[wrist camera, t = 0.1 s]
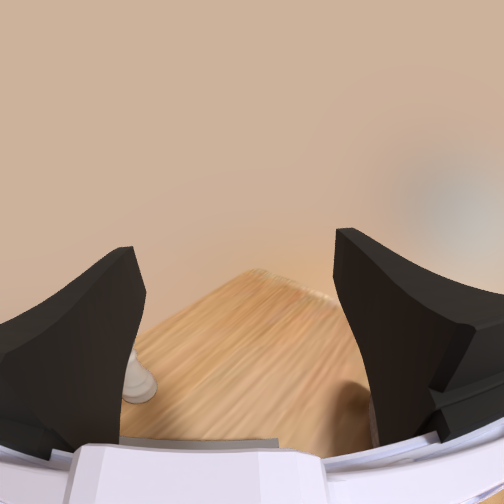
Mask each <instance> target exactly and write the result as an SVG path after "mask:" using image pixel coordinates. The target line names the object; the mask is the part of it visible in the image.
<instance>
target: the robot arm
mask: <svg viewBox="0 0 504 504" xmlns="http://www.w3.org/2000/svg"><path fill="white" fill-rule="evenodd" d="M333 279H334V284H335V287H336V291H337V295H338V298H339V301H340V303H341V306H342V308H343V311H344V313H345V315H346V318H347V320H348V323H349V325H350V327H351V330H352V332H353V334H354V337H355V339H356V342H357V344H358V347H359V349H360V352H361V355H362V358H363V362H364V366H365V370H366V374H367V377H368V382H369V386H370V391H371V395H372V400H373V405H374V410H375V416H376V422H377V428H378V436H379V444H380V447H378V448H374V449H369V450H365V451H360V452H356V453H351V454H346V455H340V456H335V457H329V458H323V459H320V457H318V456H316V455H314V454H312V453H307V452H303V451H299V450H295V449H291V448H251V449H230V450H181V449H160V448H146V447H134V446H125V445H119V431H120V413H121V403H122V394H123V387H124V380H125V373H126V369H127V365H128V361H129V358H130V354H131V351H132V348H133V344H134V341H135V338H136V335H137V332H138V328H139V325H140V322H141V318H142V315H143V310H144V304H145V297H146V289H145V286H144V283H143V279H142V276H141V273H140V270H139V266H138V263H137V259H136V256H135V253H134V249H133V246H130V247H120V248H117V249H115V250H113V251H111V252H110V253H108V254H107V255H106V256H104V257H103V258H102V259H100V260H99V261H98V262H97V263H95V264H94V265H93V266H91V267H90V268H89V269H88V270H86V271H85V272H84V273H82V274H81V275H80V276H79V277H77V278H76V279H75V280H73V281H72V282H70V283H69V284H68V285H67V286H65V287H64V288H63V289H61V290H60V291H58V292H57V293H56V294H54V295H53V296H51V297H50V298H48V299H46V300H45V301H43V302H42V303H40V304H38V305H37V306H35V307H33V308H31V309H30V310H28V311H26V312H24V313H22V314H20V315H19V316H17V317H15V318H13V319H11V320H9V321H6V322H4V323H2V324H0V504H478V503H480V502H482V501H483V500H485V499H487V498H489V497H491V496H492V495H494V494H496V493H497V492H499V491H501V490H503V489H504V295H503V294H498V293H493V292H489V291H485V290H481V289H477V288H474V287H471V286H467V285H464V284H461V283H458V282H455V281H453V280H450V279H447V278H445V277H442V276H440V275H438V274H435V273H433V272H431V271H429V270H427V269H424V268H422V267H420V266H418V265H416V264H414V263H412V262H411V261H408V260H407V259H405V258H403V257H402V256H400V255H398V254H396V253H395V252H393V251H391V250H390V249H388V248H386V247H385V246H383V245H381V244H380V243H378V242H377V241H375V240H373V239H372V238H370V237H369V236H367V235H365V234H364V233H362V232H360V231H358V230H356V229H354V228H341V229H336V240H335V255H334V269H333Z"/></svg>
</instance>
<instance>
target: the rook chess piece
mask: <svg viewBox="0 0 504 504" xmlns="http://www.w3.org/2000/svg"><path fill="white" fill-rule="evenodd" d="M134 344H135V341H134ZM134 344H133V347H134ZM136 356H137V352H136V350H135V349H134V348H132V351H131V354H130V358H129V361H128V365H127V369H126V373H125V380H124V387H123V394H122V398H123V399H124V400H125V401H128V402H130V403H143V402H146V401H148V400H149V399H151V398H152V397H153V395H154V394H155V392H156V391H157V382H156V380H155V378H154V376H153V374H152V373H151V372H150V371H149V370H147V369H146V368H144V367H143V366H142V365H141V364H140V362H139V361H138V359H137V357H136Z"/></svg>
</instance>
